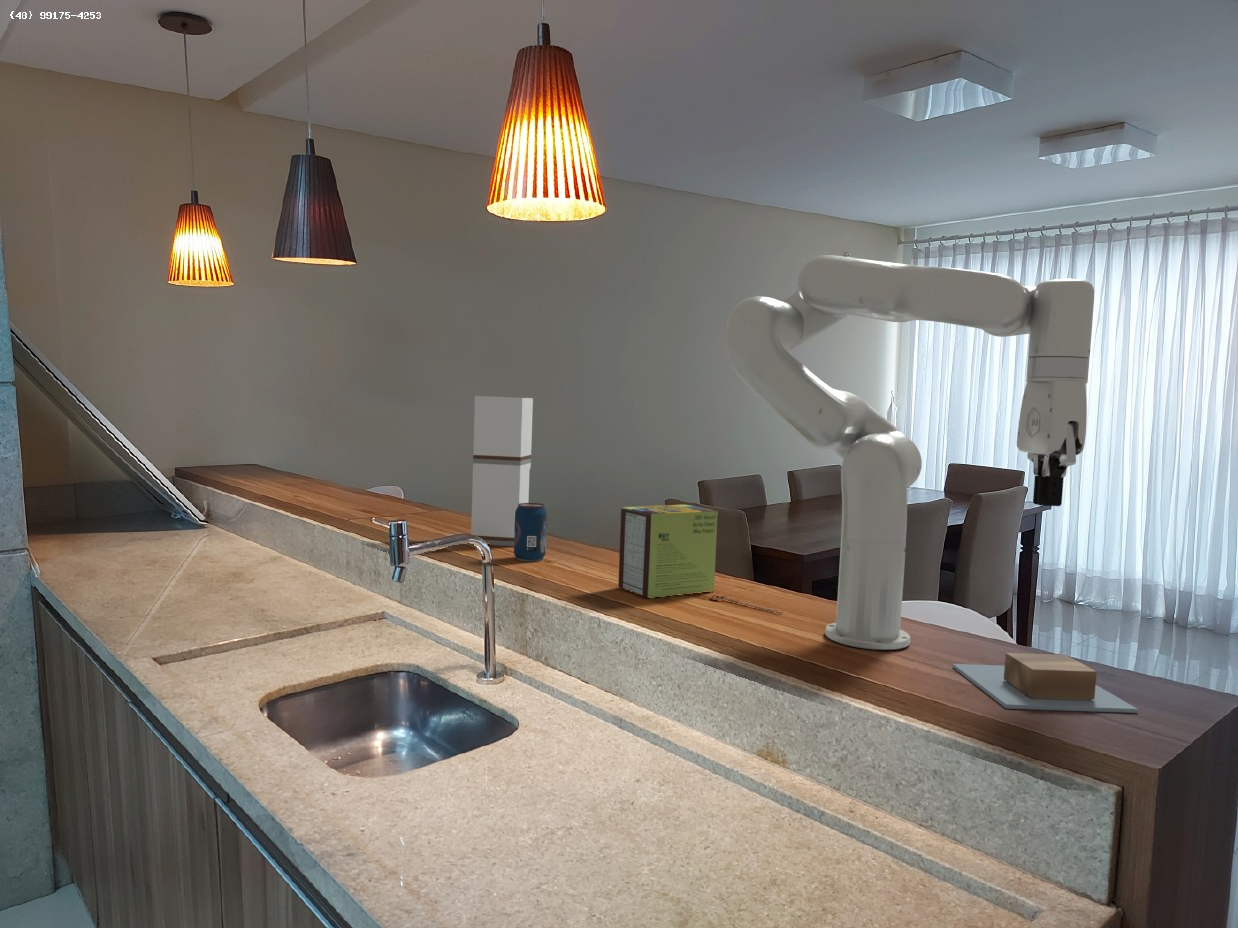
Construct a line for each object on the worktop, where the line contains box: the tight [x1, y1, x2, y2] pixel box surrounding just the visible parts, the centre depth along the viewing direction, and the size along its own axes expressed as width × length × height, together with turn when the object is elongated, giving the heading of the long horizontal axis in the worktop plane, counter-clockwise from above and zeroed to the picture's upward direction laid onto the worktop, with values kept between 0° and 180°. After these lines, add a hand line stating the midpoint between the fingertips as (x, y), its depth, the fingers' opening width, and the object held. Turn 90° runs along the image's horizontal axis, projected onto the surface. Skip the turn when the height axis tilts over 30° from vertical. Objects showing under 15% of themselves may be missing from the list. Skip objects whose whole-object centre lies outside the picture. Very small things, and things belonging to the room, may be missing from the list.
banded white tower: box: [470, 395, 534, 547], centre depth 206 cm, size 11×11×35 cm
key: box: [709, 595, 783, 614], centre depth 152 cm, size 6×1×15 cm
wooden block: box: [1004, 652, 1098, 700], centre depth 109 cm, size 4×8×7 cm
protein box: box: [617, 504, 719, 599], centre depth 161 cm, size 10×15×16 cm
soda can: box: [513, 502, 548, 562], centre depth 186 cm, size 7×7×12 cm
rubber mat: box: [952, 663, 1138, 714], centre depth 111 cm, size 16×16×1 cm
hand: (1046, 504), depth 119 cm, fingers closed
